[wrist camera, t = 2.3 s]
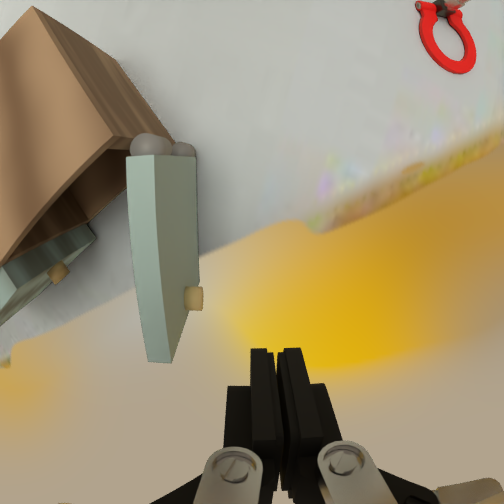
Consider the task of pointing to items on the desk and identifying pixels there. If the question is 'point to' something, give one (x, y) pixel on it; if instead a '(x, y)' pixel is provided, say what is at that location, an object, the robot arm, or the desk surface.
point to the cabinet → (58, 150)
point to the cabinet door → (163, 239)
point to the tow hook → (448, 7)
